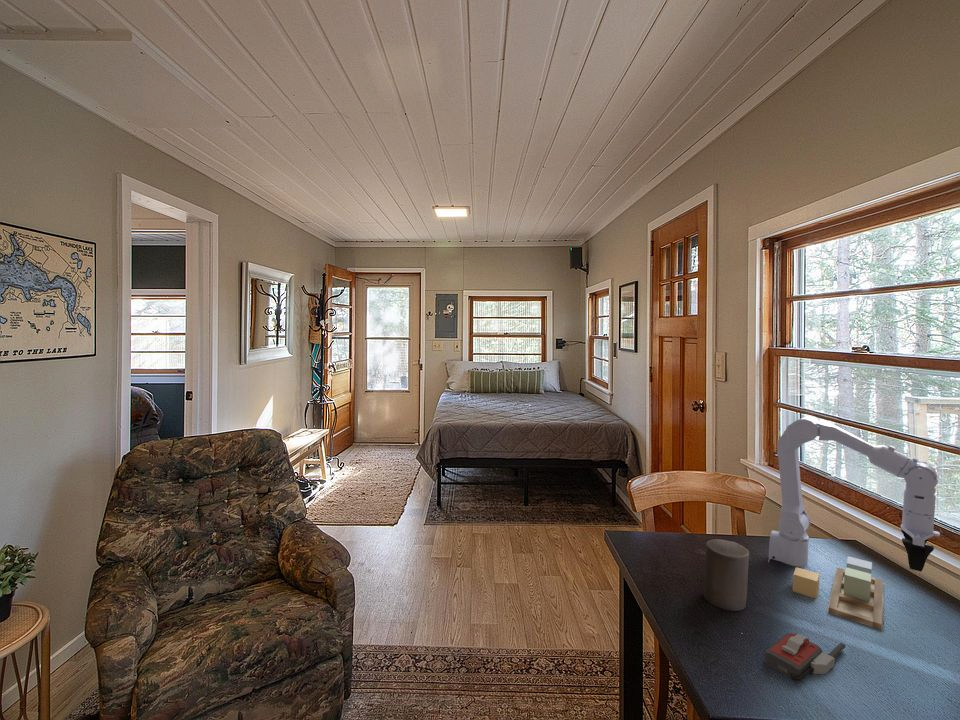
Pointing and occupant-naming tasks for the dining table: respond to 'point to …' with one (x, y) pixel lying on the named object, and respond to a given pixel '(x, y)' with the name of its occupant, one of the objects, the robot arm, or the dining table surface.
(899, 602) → the dining table surface
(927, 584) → the dining table surface
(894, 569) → the dining table surface
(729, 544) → the pillar candle
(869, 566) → the blue-grey block
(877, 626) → the slot board
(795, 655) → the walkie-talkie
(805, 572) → the ochre block
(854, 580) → the sage block
